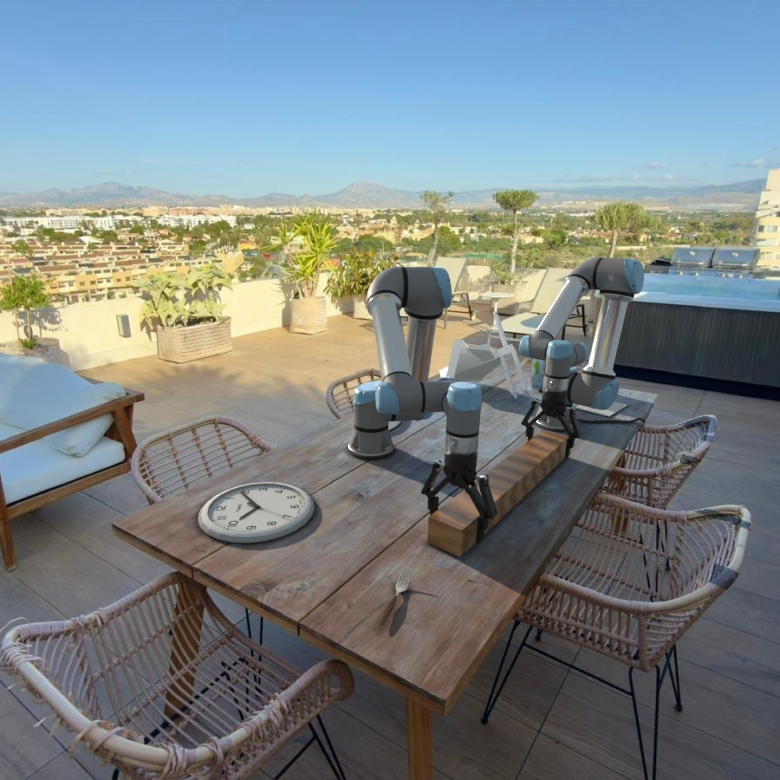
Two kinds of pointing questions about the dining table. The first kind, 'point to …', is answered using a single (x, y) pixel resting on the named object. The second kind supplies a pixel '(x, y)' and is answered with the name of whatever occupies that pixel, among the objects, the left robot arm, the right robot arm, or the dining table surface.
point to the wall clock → (256, 512)
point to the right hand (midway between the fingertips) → (548, 451)
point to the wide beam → (496, 492)
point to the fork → (400, 588)
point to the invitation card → (608, 412)
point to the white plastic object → (483, 361)
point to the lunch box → (538, 374)
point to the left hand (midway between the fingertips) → (456, 530)
